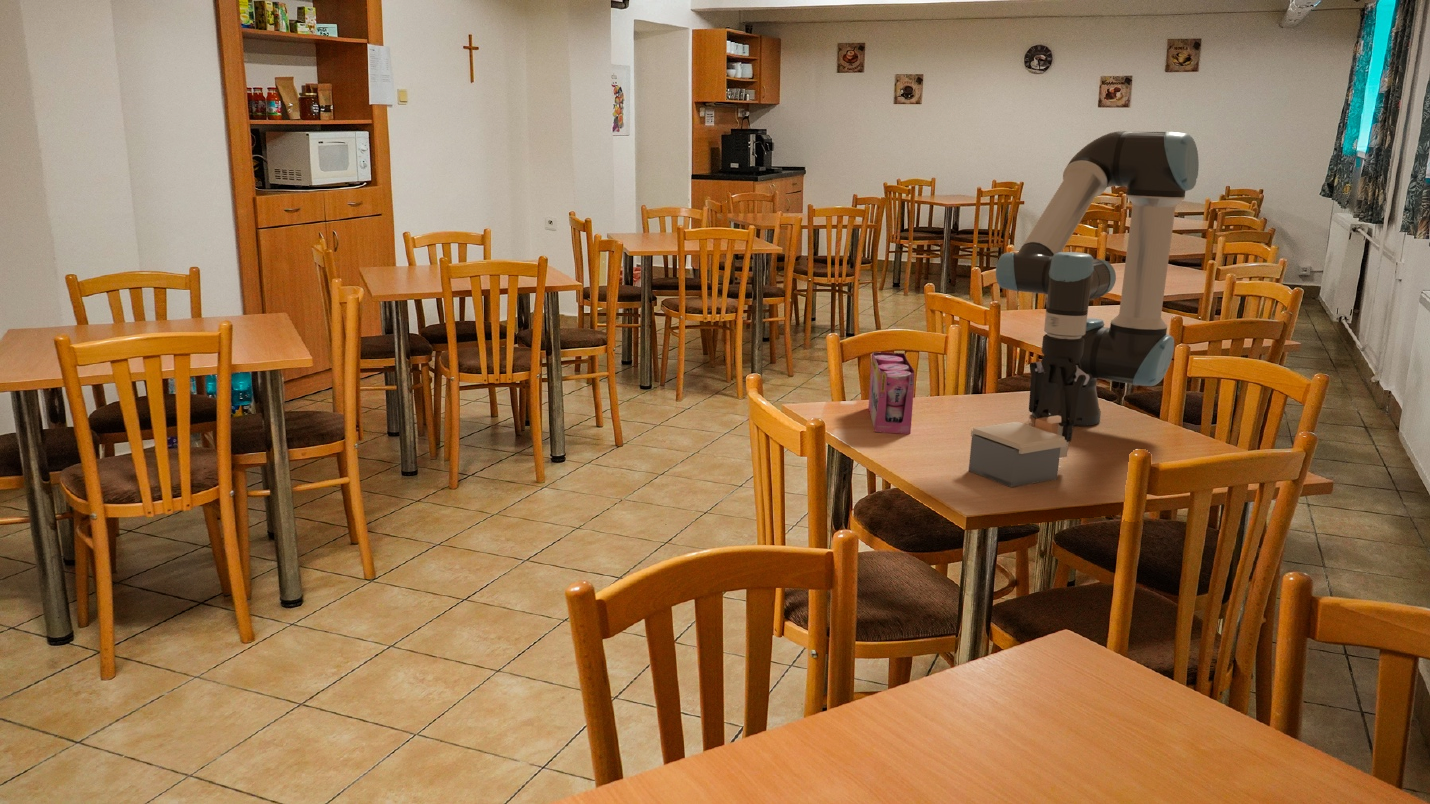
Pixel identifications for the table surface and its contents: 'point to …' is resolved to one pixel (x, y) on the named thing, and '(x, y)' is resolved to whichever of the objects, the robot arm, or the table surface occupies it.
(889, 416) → the gum box
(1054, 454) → the tub
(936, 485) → the table surface
